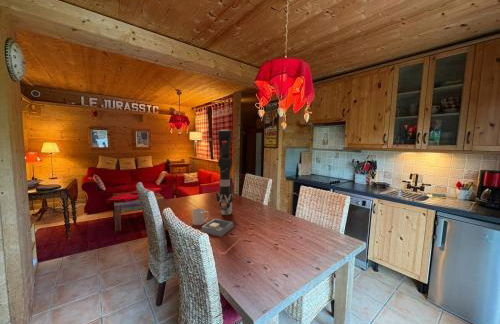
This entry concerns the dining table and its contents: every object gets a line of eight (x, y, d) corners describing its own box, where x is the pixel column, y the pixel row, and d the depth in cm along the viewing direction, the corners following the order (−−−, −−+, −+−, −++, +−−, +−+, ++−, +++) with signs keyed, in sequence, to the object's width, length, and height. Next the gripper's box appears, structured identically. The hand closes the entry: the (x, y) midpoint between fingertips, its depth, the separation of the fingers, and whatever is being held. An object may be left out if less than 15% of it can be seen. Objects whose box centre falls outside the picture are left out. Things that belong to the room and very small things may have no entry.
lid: (213, 223, 148) (213, 222, 148) (219, 224, 146) (219, 223, 146) (209, 225, 143) (209, 225, 143) (215, 227, 141) (215, 226, 141)
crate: (215, 224, 160) (215, 218, 159) (233, 228, 154) (233, 222, 153) (201, 233, 144) (201, 226, 144) (221, 238, 138) (221, 230, 138)
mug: (192, 226, 155) (192, 212, 154) (192, 222, 164) (192, 208, 163) (208, 225, 158) (208, 211, 157) (208, 221, 167) (208, 207, 166)
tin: (223, 207, 157) (223, 197, 156) (229, 208, 155) (229, 198, 154) (219, 209, 152) (219, 199, 151) (226, 210, 150) (226, 200, 149)
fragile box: (213, 229, 148) (213, 223, 148) (219, 231, 146) (219, 224, 146) (209, 232, 143) (209, 225, 143) (215, 234, 142) (215, 227, 141)
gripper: (235, 185, 152) (235, 207, 154) (219, 183, 158) (218, 204, 159) (231, 186, 145) (230, 210, 147) (213, 185, 151) (213, 207, 152)
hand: (224, 207), depth 153 cm, fingers closed on tin, 5 cm apart
